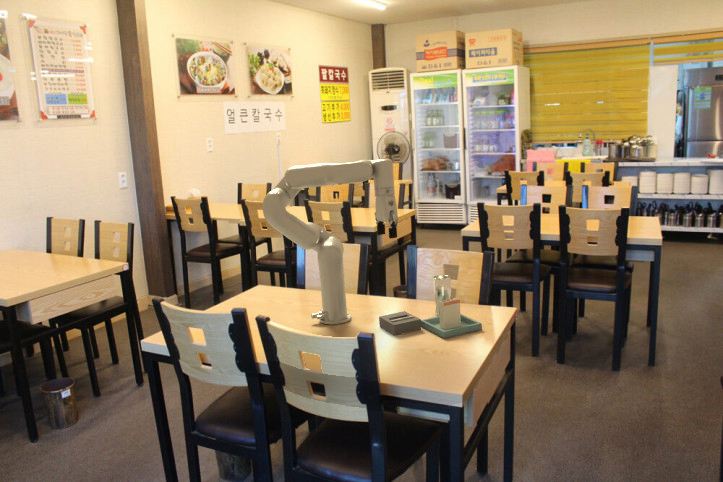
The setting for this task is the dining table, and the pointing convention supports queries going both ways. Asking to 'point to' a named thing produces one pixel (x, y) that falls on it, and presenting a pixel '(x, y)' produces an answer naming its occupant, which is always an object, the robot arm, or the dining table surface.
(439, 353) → the dining table surface
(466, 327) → the tray
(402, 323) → the block
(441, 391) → the dining table surface
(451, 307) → the cream rectangular block
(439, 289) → the beer glass
